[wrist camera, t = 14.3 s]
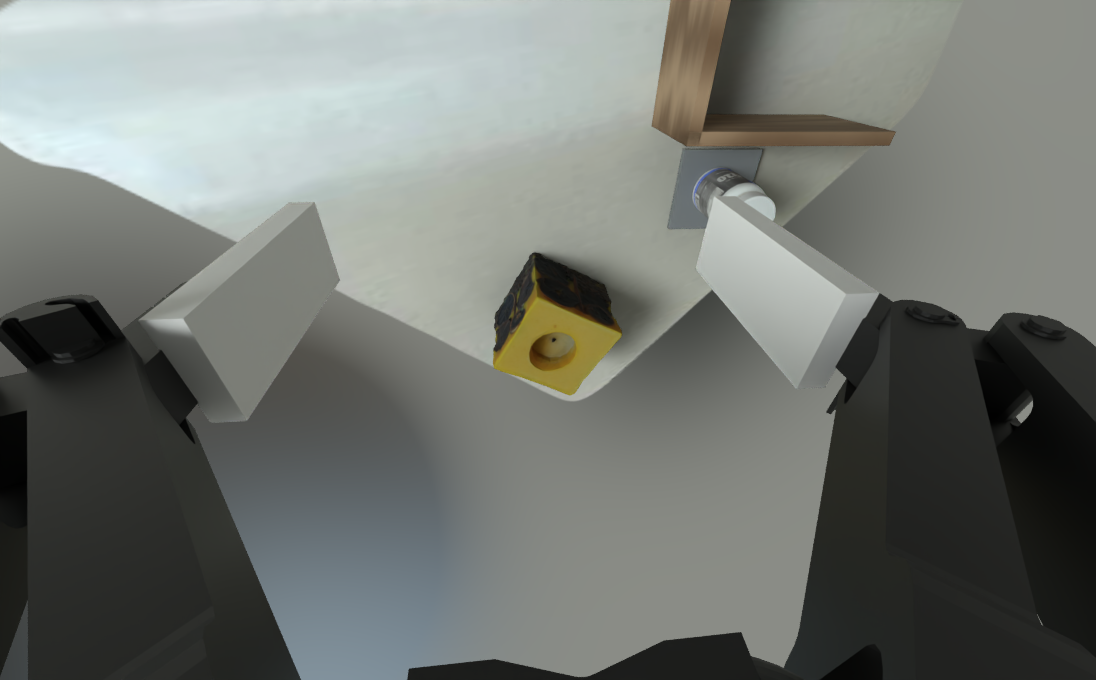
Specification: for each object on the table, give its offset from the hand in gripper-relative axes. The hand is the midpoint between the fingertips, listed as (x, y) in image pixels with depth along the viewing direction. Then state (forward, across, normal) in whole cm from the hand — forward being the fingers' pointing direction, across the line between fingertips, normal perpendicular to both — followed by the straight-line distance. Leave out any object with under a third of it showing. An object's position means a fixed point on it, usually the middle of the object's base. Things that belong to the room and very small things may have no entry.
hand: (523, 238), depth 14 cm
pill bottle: (+28, +21, -7) cm, 36 cm away
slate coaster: (+29, +21, -7) cm, 36 cm away
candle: (+29, +4, -20) cm, 35 cm away
